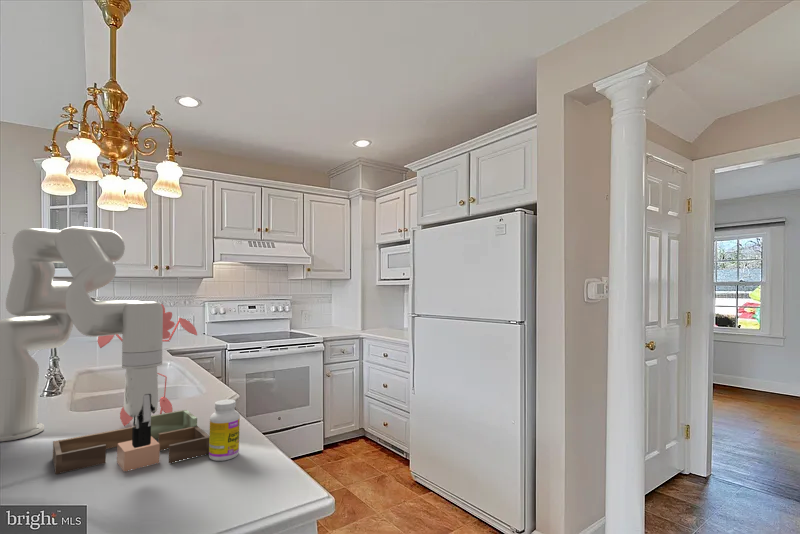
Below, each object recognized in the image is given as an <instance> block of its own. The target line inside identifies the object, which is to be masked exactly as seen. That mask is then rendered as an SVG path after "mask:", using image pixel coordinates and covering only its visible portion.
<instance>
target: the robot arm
mask: <svg viewBox="0 0 800 534" xmlns="http://www.w3.org/2000/svg"><path fill="white" fill-rule="evenodd" d="M11 248H12V254H13V261H14V262H13V263H14V266H13V270H12V274H11V278H10V283H9V285H8V290H7V293H6V297H5V298H6V299H5V309H6V311H7V312H8V313H9V314H11V315H13V316H15V317H9V318H3V319H0V442H9V441H15V440H20V439H26V438H29V437H31V436H34V435H38V434H40V433H41V432H43V431H44V430H45V424H44V423H41V422H38V411H39V409H38V408H39V407H38V406H39V385H40V384H39V379H40V366H39V364H38V362H37V360H35V359H34V358H33V357H32V355H30V354H29V352H34V351H41V350H49V349H57V348H61V347H62V346H64V345H66V344H67V342H68V341H69V339H70V337H71V333H72V330H73V326H74V327H75V328H76V330H77V331H78V332H79V333H80V334H82V335H84V336H86V337H90V338H91V337H92V338H95V337H97V338H98V336H108V335H114V336H116V335H117V334H118V335H122V337H121V338H122V341H121V342H122V344H121V345H122V346H121V349H122V350H121V368H122V369H125V378H124V394H123V406H124V410H125V411H126V412H127V414H128V415H129V416H131V417H133V419H132V426H131V427H132V445H133V447H134V448H138V447H142V446H147V445H150V444H151V416H152V414H154V415H155V413H156V412H158V406H159V405H158V403H159V382H158V381H159V379H158V376H159V374H157V373H158V367H160V366H162V365H163V342H162V340H163V339H162V338H163V307H162V305H161V304H162V303H160V302H157V301H141V300H136V299H135V300H103V301H102V300H101V301H100V300H99V301H95V300H93V299H92V297H90V295H89V294H90V293H92V292H94V291H97V290H98V289H101V288H103V287H105V286H107V285H108V284H110V283H111V281H112V280H114V279H115V276H116V275H117V273H116V272H117V268H116V265H115V264H114V263H116V262H118V261H119V260H120V259H122V258H123V256H124V255H125V251H126V250H125V249H126V246H125V242H124V240H123V238H122V236H121V235H120V234H119V233H117V232H116V231H114V230H111V229H105V228H96V227H95V228H93V227H87V226H86V227H85V226H70V227H65V228H63V229H60V230H59V229H50V228H39V227H38V228H32V227H31V228H29V227H28V228H23V229H21V230H19V231H18V232H17V233H16V234H15V236H14V238H13V241H12V247H11ZM55 263H58V264H64V265H65V266H66V268H67V270H68V271H69V273H70V275H71V277H72V278H73V279H72V280H71V282H68V281H60V280H59V281H57V280H55V281H53V279H54V277H55V274H56V268H55ZM134 426H135V427H134Z"/></svg>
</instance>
